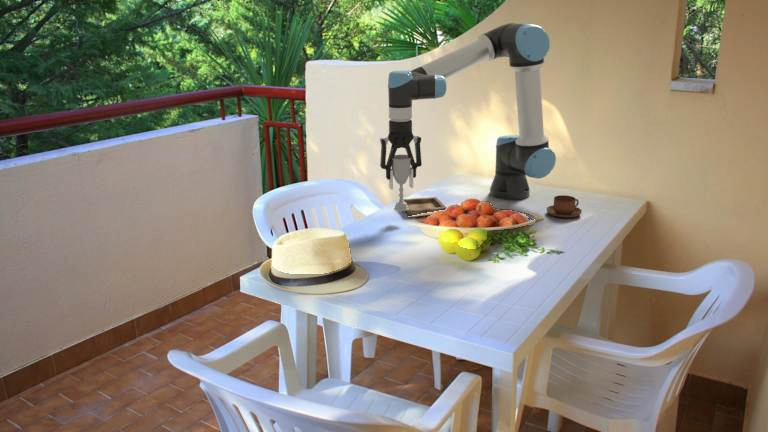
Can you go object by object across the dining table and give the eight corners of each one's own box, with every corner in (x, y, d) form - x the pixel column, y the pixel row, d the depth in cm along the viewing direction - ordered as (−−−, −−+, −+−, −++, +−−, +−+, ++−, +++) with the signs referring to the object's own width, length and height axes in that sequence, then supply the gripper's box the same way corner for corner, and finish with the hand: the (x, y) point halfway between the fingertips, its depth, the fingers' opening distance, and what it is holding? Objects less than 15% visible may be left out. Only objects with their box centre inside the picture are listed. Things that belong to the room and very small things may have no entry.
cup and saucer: (557, 207, 251) (559, 191, 249) (587, 214, 243) (589, 198, 241) (539, 215, 243) (540, 198, 241) (569, 222, 235) (570, 205, 233)
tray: (435, 203, 257) (436, 197, 256) (446, 214, 244) (447, 207, 243) (399, 206, 254) (399, 199, 253) (408, 217, 241) (408, 210, 240)
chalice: (412, 205, 237) (412, 154, 231) (411, 212, 231) (411, 159, 225) (391, 205, 238) (390, 154, 232) (389, 211, 231) (388, 159, 226)
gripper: (425, 115, 230) (425, 182, 237) (369, 119, 226) (371, 186, 233) (432, 119, 223) (431, 188, 230) (373, 123, 219) (375, 192, 227)
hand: (401, 187), depth 232 cm, fingers closed on chalice, 6 cm apart
